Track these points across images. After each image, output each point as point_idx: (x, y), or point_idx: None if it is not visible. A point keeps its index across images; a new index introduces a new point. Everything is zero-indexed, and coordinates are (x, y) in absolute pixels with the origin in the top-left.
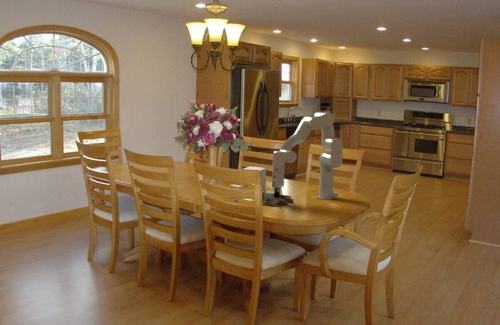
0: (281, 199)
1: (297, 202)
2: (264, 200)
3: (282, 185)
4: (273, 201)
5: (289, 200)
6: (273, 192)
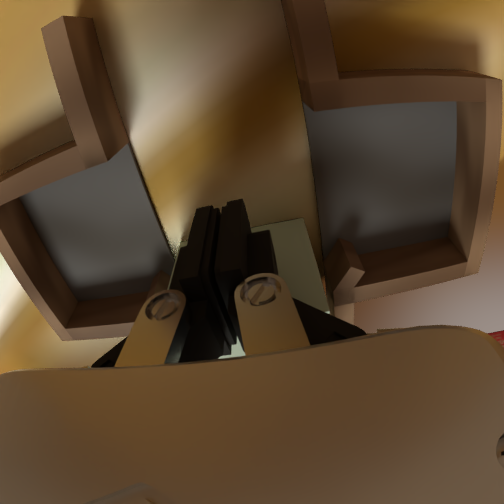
0: (85, 241)
1: (20, 25)
2: (448, 265)
3: (54, 400)
4: (277, 229)
5: (90, 70)
6: (233, 351)
